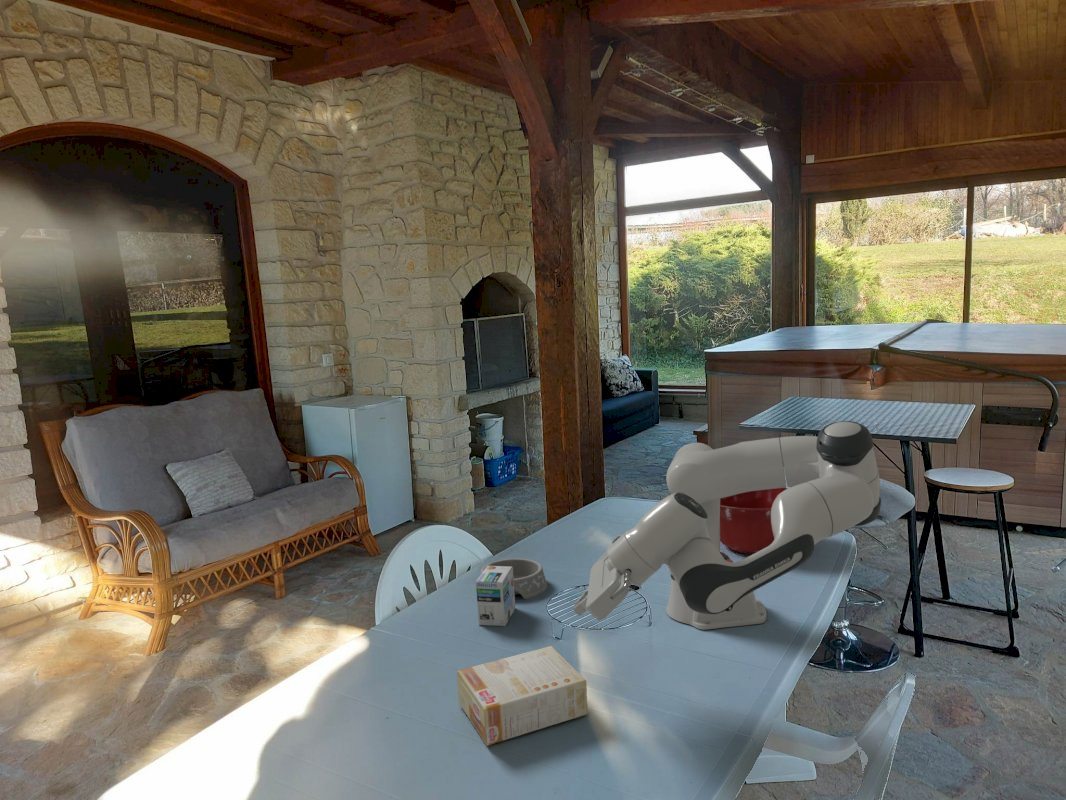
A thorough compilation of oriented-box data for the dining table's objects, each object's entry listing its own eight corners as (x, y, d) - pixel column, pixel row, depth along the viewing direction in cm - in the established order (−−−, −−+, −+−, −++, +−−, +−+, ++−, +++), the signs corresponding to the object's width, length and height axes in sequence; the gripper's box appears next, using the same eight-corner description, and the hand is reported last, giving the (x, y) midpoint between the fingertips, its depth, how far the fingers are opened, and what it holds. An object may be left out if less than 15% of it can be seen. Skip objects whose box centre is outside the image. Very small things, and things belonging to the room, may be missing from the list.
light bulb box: (505, 627, 170) (503, 582, 168) (477, 626, 171) (474, 581, 170) (516, 607, 180) (513, 565, 179) (489, 606, 181) (486, 564, 180)
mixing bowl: (722, 525, 233) (721, 478, 231) (815, 539, 217) (815, 488, 214) (685, 553, 211) (683, 501, 209) (785, 570, 194) (785, 514, 192)
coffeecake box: (552, 677, 145) (458, 704, 137) (551, 643, 144) (456, 668, 136) (588, 716, 132) (485, 748, 124) (587, 679, 130) (483, 709, 123)
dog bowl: (480, 576, 202) (479, 558, 201) (547, 574, 201) (546, 555, 201) (474, 602, 185) (472, 582, 184) (547, 599, 184) (546, 579, 184)
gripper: (643, 596, 125) (585, 647, 127) (641, 555, 145) (591, 600, 147) (617, 569, 125) (559, 622, 127) (618, 532, 145) (568, 578, 147)
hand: (576, 610), depth 137 cm, fingers closed
